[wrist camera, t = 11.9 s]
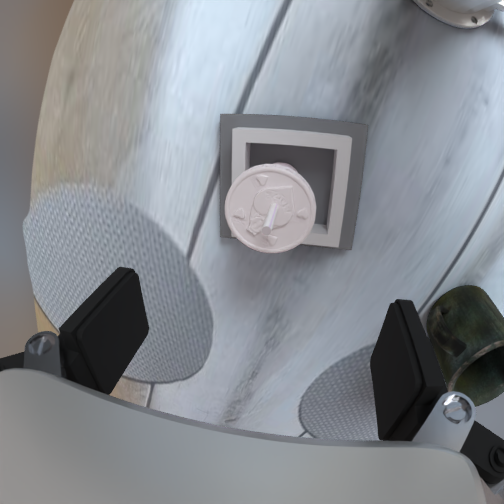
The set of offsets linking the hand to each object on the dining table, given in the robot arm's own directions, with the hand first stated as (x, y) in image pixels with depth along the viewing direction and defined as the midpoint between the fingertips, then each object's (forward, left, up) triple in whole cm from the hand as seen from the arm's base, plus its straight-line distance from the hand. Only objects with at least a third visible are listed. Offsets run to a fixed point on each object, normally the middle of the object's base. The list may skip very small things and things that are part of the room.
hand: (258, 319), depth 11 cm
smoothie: (+1, 0, -21) cm, 21 cm away
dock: (0, 0, -22) cm, 22 cm away
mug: (-23, +14, -22) cm, 35 cm away
